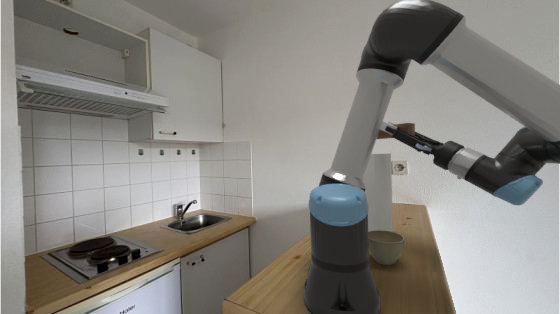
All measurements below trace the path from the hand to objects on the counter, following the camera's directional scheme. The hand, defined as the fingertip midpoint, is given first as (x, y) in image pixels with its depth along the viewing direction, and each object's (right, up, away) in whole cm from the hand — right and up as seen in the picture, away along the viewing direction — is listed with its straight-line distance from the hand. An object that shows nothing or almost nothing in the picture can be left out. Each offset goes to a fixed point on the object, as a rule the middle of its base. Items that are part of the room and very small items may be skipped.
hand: (383, 124), depth 76 cm
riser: (-3, -40, +6) cm, 41 cm away
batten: (-2, -5, +3) cm, 6 cm away
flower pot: (-6, -40, -13) cm, 43 cm away
